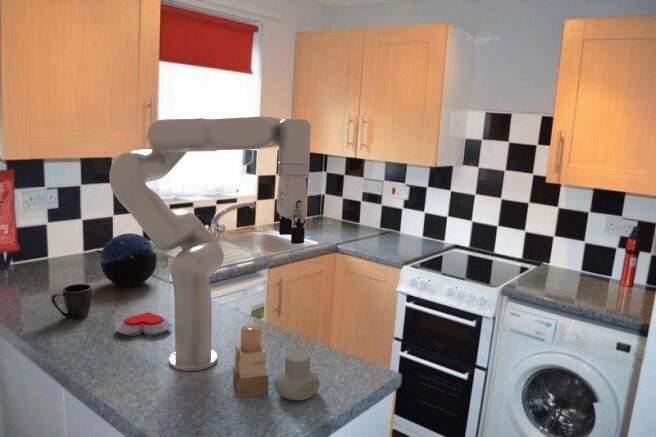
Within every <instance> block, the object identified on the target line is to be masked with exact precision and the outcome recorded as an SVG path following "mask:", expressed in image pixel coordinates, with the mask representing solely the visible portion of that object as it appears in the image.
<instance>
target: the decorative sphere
mask: <svg viewBox="0 0 656 437" xmlns="http://www.w3.org/2000/svg"><path fill="white" fill-rule="evenodd" d="M99 261H100V267H101V271H102V273H103V275H104V276H105V277H106V279H108V280H109V281H110V282H112V283H113V284H115V285H118V286H119V287H120V286H121V287H124V288H125V287H135V286H139V285H141V284H143V283H145V282H146V281H148V280H149V279H150V278H151V276H153V273H154V272H155V270H156V267H157V262H158V256H157V251H156V249H155V247H154V245H153V244H152V241H151V240H150V241H149V239H147V238H146V237H144V236H143V235H140V234H137V233H130V232H129V233H122V234H119V235H116V236H114V237H113V238H111V239H110V240H109V241H108V242H107V243H106V244H105V245H104V247H103V249H102V251H101V254H100V259H99Z"/></svg>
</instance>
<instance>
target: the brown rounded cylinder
mask: <svg viewBox="0 0 656 437" xmlns="http://www.w3.org/2000/svg"><path fill="white" fill-rule="evenodd" d="M240 344H241V350H242V351H245V352H257V351H259V350H260V349H261V345H262V327H261V326H260V325H257V324H246V325H243V326H241V329H240Z"/></svg>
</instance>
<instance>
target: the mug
mask: <svg viewBox="0 0 656 437" xmlns="http://www.w3.org/2000/svg"><path fill="white" fill-rule="evenodd" d="M92 287H93V286H91V285H90V284H86V283H77V284H70V285H67V286H64V287H63V289H62V291H63V292H62V293H55V294H52V295H51V298H50V299H51V300H50V301H51V303H52V305H53V306H54V307H55V308H56V309H57V311H58V312H59V313H60V314H61V315H62V316H63V317H64V318H65V319H66V318H67V319H71V320H83V319H85V318H87V317H88V316H89V314H90V309H91V305H92V301H93V300H92V297H93V296H92V295H93V290H92ZM57 296H58V297H59V296H61V297H62V296H63V303H64V307H65V310H66V312H64V311H63V310H62V309H61V308H60V307H59V306H58V305H57V302H56V300H55V298H56V297H57Z"/></svg>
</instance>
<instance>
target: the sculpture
mask: <svg viewBox="0 0 656 437" xmlns="http://www.w3.org/2000/svg"><path fill="white" fill-rule="evenodd" d="M171 327H173V324H172V323H171V322H169V320H167V319H166V318H165V317H163V316H160V315H157V314H154V313H153V312H152V313H151V312H149V311H147V312H146V311H145V312H143V313H140V314H137V315H132V316H130V317H129V316H128V317H126V318H125V319H122V320H121V321H120V322H119V323H116V325H114V329H115V332H117V333H118V334H121V335H124V336H129V337H134V336H138V335H141V334H144V335H147V336H151V337H152V336H158V335H162V334H163V333H165V332H166V331H168V330H169V329H170V328H171Z"/></svg>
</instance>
